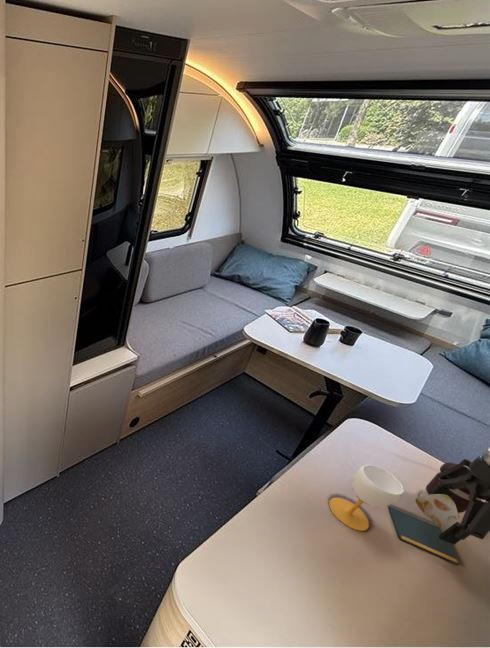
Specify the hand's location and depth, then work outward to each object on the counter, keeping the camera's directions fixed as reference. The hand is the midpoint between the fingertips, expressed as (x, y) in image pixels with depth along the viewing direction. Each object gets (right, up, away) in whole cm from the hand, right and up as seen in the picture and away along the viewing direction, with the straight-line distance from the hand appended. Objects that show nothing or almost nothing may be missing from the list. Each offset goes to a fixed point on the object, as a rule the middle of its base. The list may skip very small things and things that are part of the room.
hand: (437, 521), depth 92 cm
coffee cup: (+12, -3, +11) cm, 16 cm away
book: (-1, -6, +3) cm, 7 cm away
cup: (-17, -2, +7) cm, 19 cm away
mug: (0, 0, 0) cm, 0 cm away
